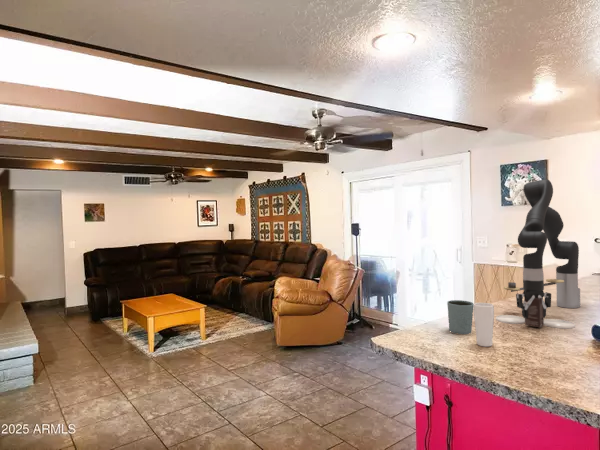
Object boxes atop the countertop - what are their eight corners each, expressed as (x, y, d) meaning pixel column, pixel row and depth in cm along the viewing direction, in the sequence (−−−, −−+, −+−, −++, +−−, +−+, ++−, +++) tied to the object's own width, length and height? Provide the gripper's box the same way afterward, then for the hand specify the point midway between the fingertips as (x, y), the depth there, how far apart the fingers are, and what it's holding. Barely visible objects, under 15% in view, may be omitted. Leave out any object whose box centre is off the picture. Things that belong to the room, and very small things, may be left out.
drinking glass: (493, 342, 149) (492, 302, 148) (495, 348, 142) (495, 306, 142) (473, 341, 151) (472, 302, 151) (475, 347, 144) (474, 305, 144)
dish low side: (516, 316, 185) (516, 314, 185) (531, 323, 173) (531, 321, 173) (490, 317, 185) (490, 315, 185) (504, 324, 173) (504, 322, 173)
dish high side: (562, 320, 176) (562, 318, 176) (581, 328, 164) (581, 325, 164) (535, 321, 176) (535, 319, 176) (553, 329, 164) (553, 326, 164)
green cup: (447, 327, 171) (446, 299, 171) (472, 328, 168) (472, 300, 168) (448, 334, 161) (447, 304, 161) (475, 335, 158) (474, 305, 158)
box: (544, 325, 167) (543, 297, 167) (540, 328, 164) (539, 299, 164) (528, 323, 172) (528, 295, 172) (524, 325, 169) (523, 297, 169)
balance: (564, 316, 184) (563, 279, 183) (565, 319, 178) (564, 281, 177) (504, 311, 196) (504, 276, 196) (504, 314, 190) (503, 278, 190)
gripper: (544, 276, 172) (545, 314, 172) (511, 277, 171) (512, 316, 172) (555, 279, 164) (556, 319, 164) (521, 280, 164) (522, 320, 164)
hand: (534, 317), depth 168 cm, fingers closed on box, 6 cm apart
